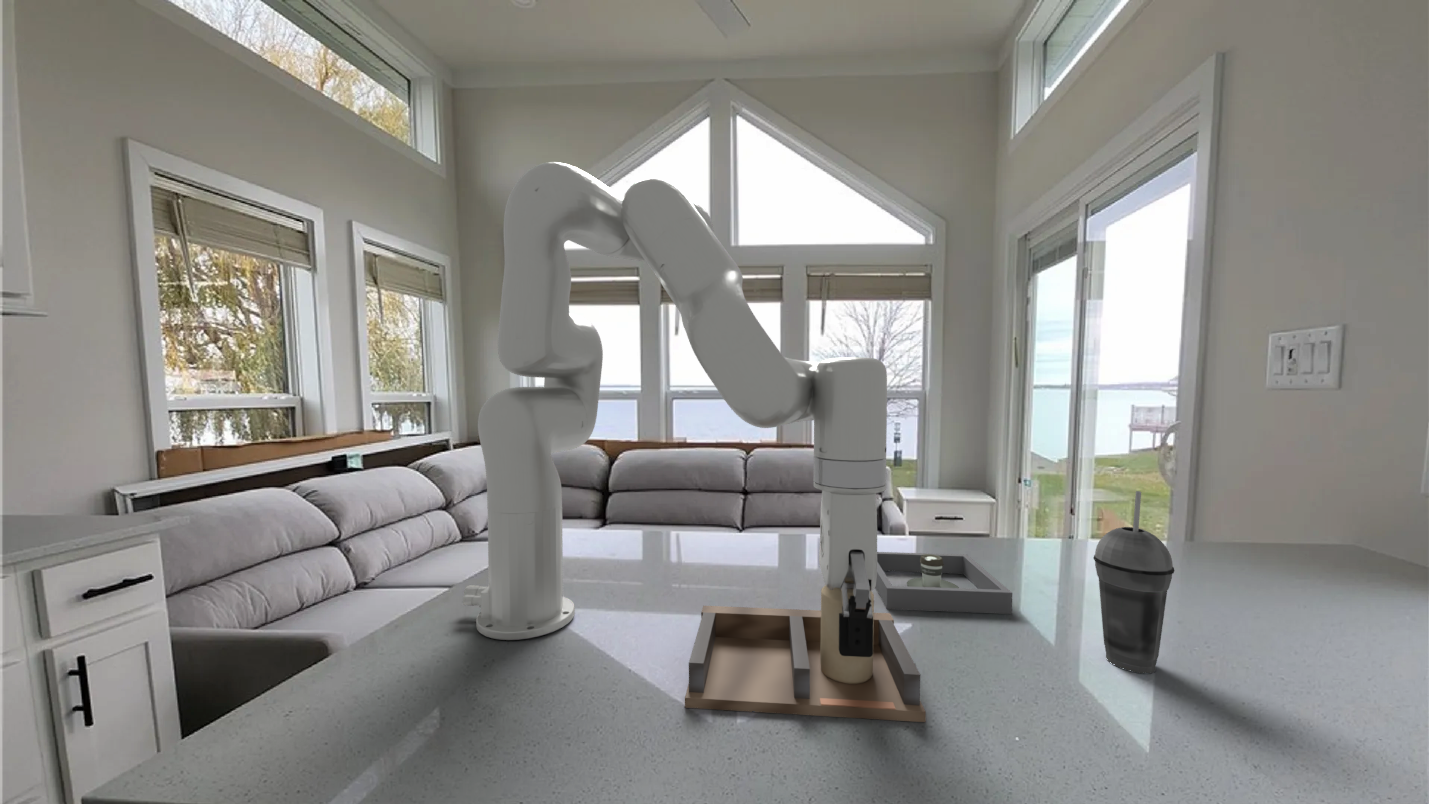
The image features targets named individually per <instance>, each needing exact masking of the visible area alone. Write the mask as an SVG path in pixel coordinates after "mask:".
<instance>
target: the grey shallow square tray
mask: <svg viewBox="0 0 1429 804" xmlns="http://www.w3.org/2000/svg"><path fill="white" fill-rule="evenodd" d="M923 554H933V555H937V556H940V557H942V559H943V563H944V566H942V574H958V575H959V574H960V575H961V574H963V576H965V578H967V579H968V581H970V582H971V583H972V584H973V585H974V586H975V587H976V588H966V587H965V588H964V587H963V588H962V587H959V588H938V587H911V586H907V585H905V586H903V585H893V584H892V583H891V581H890V580H889V578H888V577H887V574H886V572H896V573H897V572H898V573H901V572H903V573H922V572H921V563H920V558H921V555H923ZM874 589H875V590H876V592H877V593H878V596H879V597H880V599H881V601H882V602H883V605H884V606H885V608H886V610H902V611H903V610H905V611H927V612H928V611H930V612H947V613H948V612H949V613H950V612H951V613H952V612H953V613H978V614H999V615H1000V614H1001V615H1002V614H1003V615H1005V614H1006V615H1013V592H1012V591H1011V590H1010V589H1008V588H1007V586H1005V585H1004V584H1002V582H1000V581H999V579H996V577H995V576H993V575H992V574H990V572H988V571H987V569H985V568H983V566H981V565H980V564H979V563H978V562H977V561H976V560H974V559H973V558H972V557H971V556H969V555H968V554H961V553H960V554H959V553H958V554H957V553H954V554H953V553H933V552H932V553H927V552H926V553H922V552H897V551H896V552H895V551H894V552H892V551H891V552H890V551H877V580H876V587H875V588H874Z"/></svg>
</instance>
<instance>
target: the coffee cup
mask: <svg viewBox="0 0 1429 804" xmlns="http://www.w3.org/2000/svg"><path fill="white" fill-rule="evenodd" d="M933 554H934V553H932V554H923V555H921V558H920V563H921V572H920V573H921V574H922V575H921V576H922V577H914V578H911V579H908V580H907V582H906V586H911V587H938V588H960V587H959V586H958V585H957V584H956V583H953V582H950V581H948V580H945V579H942V574H943V573H942V566H944V563H943V559H942V557H940V556H937V555H933Z"/></svg>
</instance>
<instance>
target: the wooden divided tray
mask: <svg viewBox="0 0 1429 804" xmlns="http://www.w3.org/2000/svg"><path fill="white" fill-rule="evenodd" d="M700 613H701V614H700V616H701V617H700V618H701V619H700V623H699V626H698V630H697V633H696V636H695V640H694V644H693V647H692V650H691V654H690V658H689V660H688V685H687V689H686V692H685V696H684V709H685V708H687V709H702V710H717V711H718V710H719V711H732V712H733V711H734V712H735V711H736V712H749V713H753V712H752V711H755V712H754V713H765V714H766V713H769V714H785V715H797V716H798V715H800V716H814V717H815V716H817V717H819V716H820V717H830V718H831V717H833V718H848V719H850V718H852V719H867V720H880V721H881V720H883V721H898V722H899V721H901V722H914V723H915V722H917V723H926V720H927V718H926V715H927V714H926V713H927V712H926V710H925V707H924V705H923V703H922V701H921V674H920V671H919V669H918V668H917V665H916V663H915V662H914V659H913V658H912V656H911V655H910V652H909V651H908V648H907V647H906V645H905V643H904V642H903V640H902V638H901V635H900V634H899V631H898V630H897V628H896V625H895V620H894V618H893V616H892V613H890V612H874V627H873V673H872V677H871V678H870V679H869V680H868V681H866V682H863V683H857V684H849V683H842V682H838V681H835V680H833V679H831V678H829V677H827V676H826V675H825V674H824V673H823V672H822V670H821V664H820V650H821V609H820V610H817V609H795V608H793V609H792V608H790V609H789V608H774V607H773V608H766V607H749V606H748V607H747V606H746V607H743V606H725V605H723V606H721V605H720V606H719V605H718V606H717V605H702V609H701V611H700Z"/></svg>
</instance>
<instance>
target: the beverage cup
mask: <svg viewBox="0 0 1429 804" xmlns="http://www.w3.org/2000/svg"><path fill="white" fill-rule="evenodd" d="M1134 498H1135V499H1134V510H1133V511H1134V513H1133V526H1122V527H1117V528H1114V529H1111V530H1110V531H1108V532H1107V533H1105V535H1103V536H1102V537H1101V538H1100V540H1099V541H1098V543H1097V545H1096V548H1095V552H1094V555H1093V560H1094V566H1095V571H1096V576H1097V578H1098V585H1099V586H1098V587H1099V598H1100V610H1101V611H1100V612H1101V622H1102V634H1103V635H1102V637H1103V645H1104V648H1105V649H1104V650H1105V651H1104V652H1105V659H1106V658H1107V659H1108V660H1107V659H1106V660H1107V662H1109V661H1110V662H1111V663H1112V664H1111V663H1110V662H1109V663H1110V664H1111V665H1113V664H1115V665H1114V666H1115V667H1117V666H1118V667H1117V668H1119V667H1121V668H1124V669H1126V670H1125V671H1127V670H1131V671H1133V672H1132V673H1135V672H1137V673H1136V674H1143V673H1149V674H1153V673H1155V672H1156V670H1157V663H1158V658H1159V654H1160V648H1161V647H1160V646H1161V640H1162V632H1163V625H1164V618H1165V611H1166V603H1167V597H1168V596H1167V595H1168V590H1169V588H1170V587H1171V586H1170V585H1171V582H1172V578H1173V574H1174V572H1175V567H1174V566H1173V565H1174V564H1173V559H1172V556H1171V553H1170V551H1169V549H1168V548H1167V547H1166V545H1165V544H1164V543H1163V542H1162V540H1161V539H1159V537H1157V536H1156V535H1154V534H1153V533H1151V532H1150V531H1148V530H1145V529H1143V528H1139V527H1140V516H1141V515H1140V513H1141V503H1142V502H1141V501H1142V492H1141V491H1139V490H1138V491H1137V490H1135V497H1134ZM1121 668H1120V669H1121ZM1124 669H1123V670H1124ZM1131 671H1130V672H1131Z"/></svg>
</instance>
